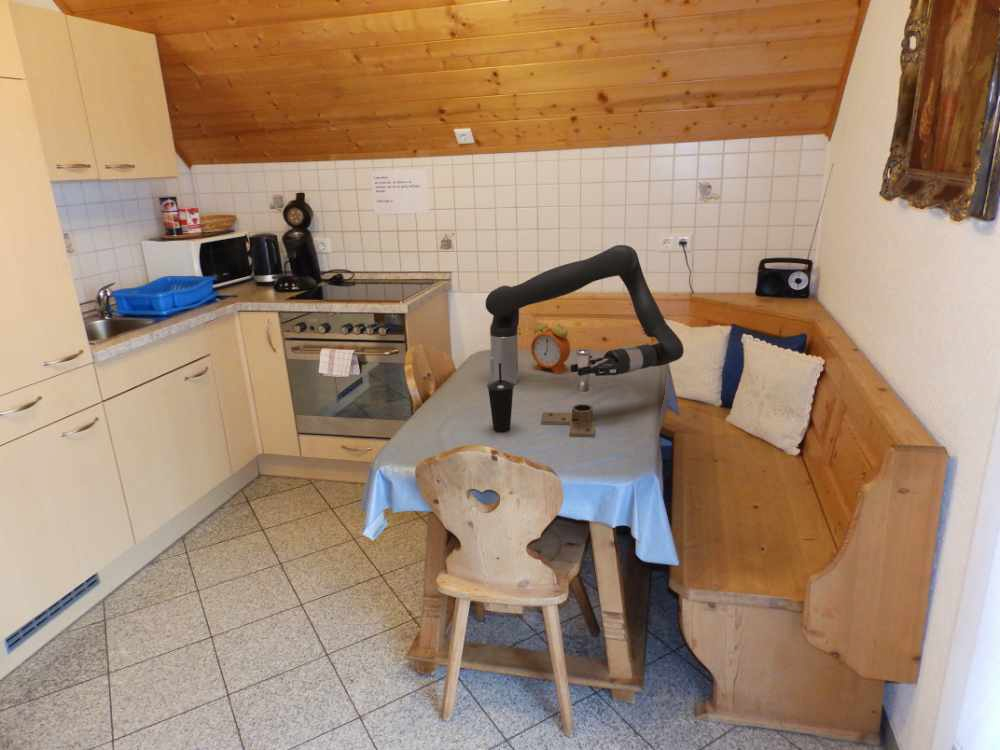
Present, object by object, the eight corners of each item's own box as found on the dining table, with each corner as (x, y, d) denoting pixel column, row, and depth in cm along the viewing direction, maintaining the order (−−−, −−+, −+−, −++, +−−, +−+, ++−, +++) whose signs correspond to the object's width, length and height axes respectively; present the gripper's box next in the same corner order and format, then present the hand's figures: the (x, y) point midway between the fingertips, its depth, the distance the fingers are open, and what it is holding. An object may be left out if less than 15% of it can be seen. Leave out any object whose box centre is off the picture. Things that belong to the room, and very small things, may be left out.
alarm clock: (530, 369, 247) (529, 316, 241) (539, 365, 252) (538, 312, 246) (562, 375, 240) (562, 320, 234) (570, 370, 245) (570, 316, 239)
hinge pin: (576, 392, 195) (576, 352, 191) (576, 387, 198) (576, 348, 195) (589, 392, 194) (589, 352, 191) (589, 387, 198) (589, 348, 194)
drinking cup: (506, 436, 190) (504, 369, 184) (483, 431, 194) (481, 365, 187) (520, 427, 196) (518, 361, 190) (497, 422, 200) (495, 358, 194)
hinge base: (539, 435, 190) (538, 422, 188) (542, 415, 204) (542, 403, 203) (594, 437, 188) (594, 423, 186) (594, 416, 202) (594, 403, 201)
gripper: (609, 343, 205) (561, 352, 198) (638, 354, 193) (588, 364, 186) (609, 366, 208) (561, 376, 200) (638, 378, 196) (588, 389, 188)
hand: (574, 370), depth 193 cm, fingers closed on hinge pin, 3 cm apart
